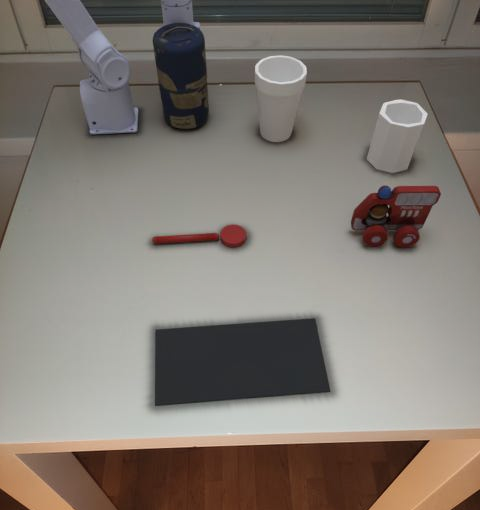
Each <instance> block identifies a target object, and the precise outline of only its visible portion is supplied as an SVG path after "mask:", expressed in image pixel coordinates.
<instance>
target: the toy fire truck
mask: <svg viewBox="0 0 480 510" xmlns="http://www.w3.org/2000/svg"><path fill="white" fill-rule="evenodd" d="M441 195H442V193H441V190H440V188H439V186H438V185H396V186H395V187H393V188H391V187H390V186H388V185H382V186H380V187H379V188H378V190H377V192H372V193H369V194H368V195H367V196H366V197H365V198H364V199H362V201H361V202H359V204H358V205H357V206H356V207H355V208H354V210H353V212H352V216H351V219H350V227H351V229H352V230H353V231H357V232H358V231H362V240H363V243H364V244H365V245H366V246H369V247H378V246H382V245H383V244H385V243H386V242H387V241H388V239H389V233H388V232H389V231H394V233H393V235H392V239H393V243H394V245H395V246H396V247H398V248H401V249H402V248H409V247H413V246H414V245H416V244H417V243H418V242H419V240H420V238H421V237H420V232H419V230H421V229H422V228H423V227H424V226H425V223H426V221H427V219H428V217H429V215H430V212H431V210H432V209H433V206H434V205H436V204H437V203H438V202H439V199H440V197H442V196H441Z"/></svg>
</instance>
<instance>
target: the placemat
mask: <svg viewBox="0 0 480 510" xmlns="http://www.w3.org/2000/svg"><path fill="white" fill-rule="evenodd" d="M154 337H155V338H154V339H155V342H154V345H155V347H154V406H155V407H157V406H168V405H169V406H170V405H181V404H192V403H193V404H194V403H207V402H218V401H219V402H220V401H232V400H245V399H255V398H256V399H257V398H270V397H282V396H293V395H305V394H306V395H307V394H320V393H330V392H331V387H330V382H329V377H328V372H327V367H326V363H325V358H324V353H323V348H322V343H321V340H320V334H319V331H318V324H317V321H316V317H313V318H299V319H297V318H296V319H283V320H270V321H255V322H242V323H230V324H228V323H227V324H214V325H200V326H199V325H198V326H187V327H173V328H172V327H171V328H158V329H155V334H154Z"/></svg>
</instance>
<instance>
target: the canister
mask: <svg viewBox="0 0 480 510" xmlns="http://www.w3.org/2000/svg"><path fill="white" fill-rule="evenodd" d="M152 47H153V54H154V61H155V66H156V74H157V83H158V88H159V95H160V100H161V105H162V115H163V118H164V120H165V121H166V123H167V124H168V125H169V126H172V127H173V128H177V129H181V130H190V129H195V128H197V127H200V126H202V125H203V124H204V123H205V122H206V121H207V120H208V117H209V113H210V112H209V111H210V107H209V105H210V104H209V91H208V67H207V54H206V53H207V52H206V39H205V35H204V33H203V31H202V30H201V28H200V29H199V28H198V27H196V26H194V25H191V24H188V23H172V24H168V25H165V26H163V25H162V26H161V27H160V28H158V29H157V30H156V31H155V32H154V33H153V36H152Z"/></svg>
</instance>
